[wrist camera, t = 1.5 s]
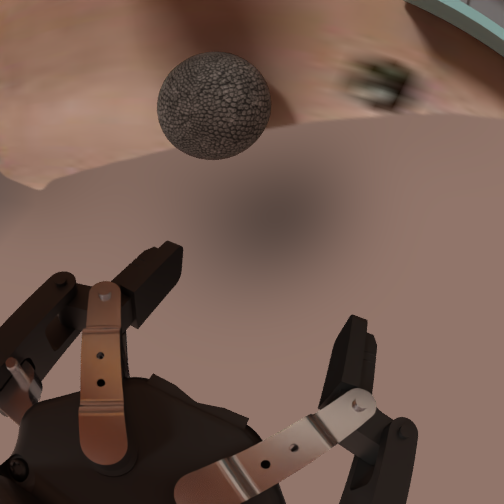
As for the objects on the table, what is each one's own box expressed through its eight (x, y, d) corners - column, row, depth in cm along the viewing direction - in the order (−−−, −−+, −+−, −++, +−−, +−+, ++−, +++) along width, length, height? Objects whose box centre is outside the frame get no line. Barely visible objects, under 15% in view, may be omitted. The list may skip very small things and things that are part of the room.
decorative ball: (186, 48, 26) (132, 59, 19) (283, 53, 25) (261, 59, 18) (186, 134, 33) (140, 171, 25) (274, 145, 31) (252, 187, 24)
